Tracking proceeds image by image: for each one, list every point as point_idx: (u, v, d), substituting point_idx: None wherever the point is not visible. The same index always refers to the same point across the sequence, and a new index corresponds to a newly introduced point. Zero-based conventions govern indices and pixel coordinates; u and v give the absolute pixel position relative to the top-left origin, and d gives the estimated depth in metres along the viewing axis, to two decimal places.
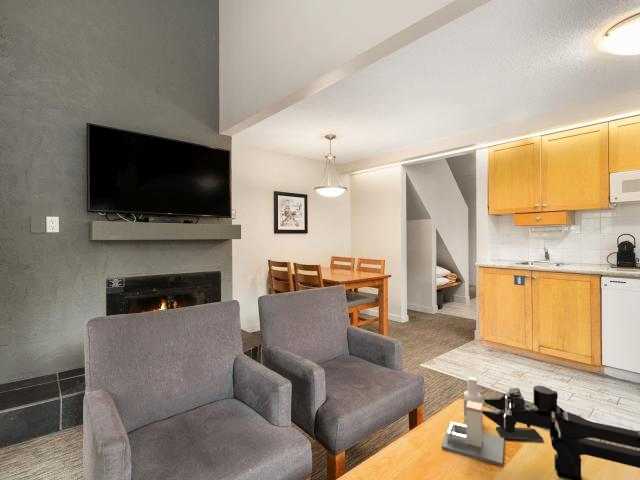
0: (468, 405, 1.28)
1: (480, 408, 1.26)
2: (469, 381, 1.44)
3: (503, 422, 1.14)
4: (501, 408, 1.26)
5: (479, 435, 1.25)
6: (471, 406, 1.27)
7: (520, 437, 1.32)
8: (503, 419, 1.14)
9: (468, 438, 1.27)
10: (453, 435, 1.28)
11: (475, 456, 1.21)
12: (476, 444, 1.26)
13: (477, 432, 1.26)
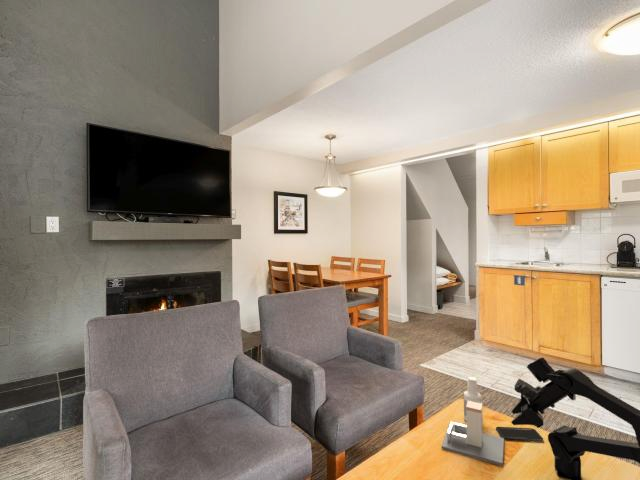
0: (468, 405, 1.28)
1: (480, 408, 1.26)
2: (469, 381, 1.44)
3: (529, 419, 1.13)
4: None
5: (479, 435, 1.25)
6: (471, 406, 1.27)
7: (520, 437, 1.32)
8: (527, 416, 1.13)
9: (468, 438, 1.27)
10: (453, 435, 1.28)
11: (475, 456, 1.21)
12: (476, 444, 1.26)
13: (477, 432, 1.26)
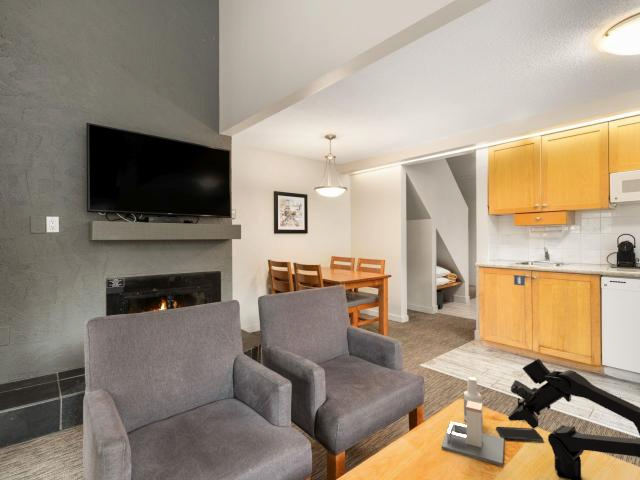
0: (468, 405, 1.28)
1: (480, 408, 1.26)
2: (469, 381, 1.44)
3: None
4: None
5: (479, 435, 1.25)
6: (471, 406, 1.27)
7: (520, 437, 1.32)
8: None
9: (468, 438, 1.27)
10: (453, 435, 1.28)
11: (475, 456, 1.21)
12: (476, 444, 1.26)
13: (477, 432, 1.26)
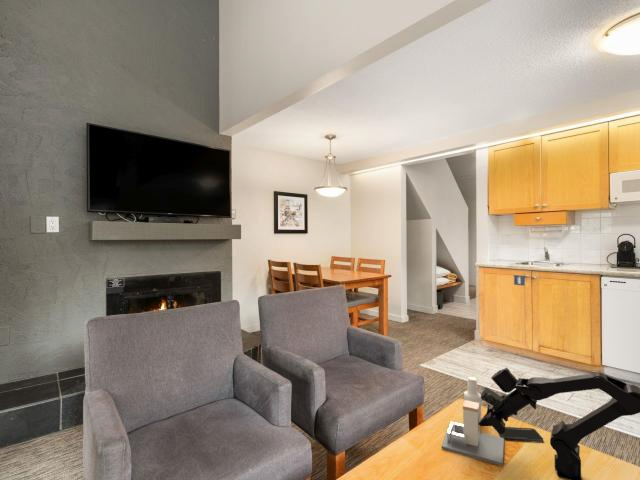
0: (465, 404, 1.29)
1: (477, 407, 1.26)
2: (469, 381, 1.44)
3: None
4: None
5: (476, 434, 1.26)
6: (468, 405, 1.28)
7: (520, 437, 1.32)
8: None
9: None
10: (453, 435, 1.28)
11: (475, 456, 1.21)
12: (473, 443, 1.26)
13: (474, 431, 1.26)
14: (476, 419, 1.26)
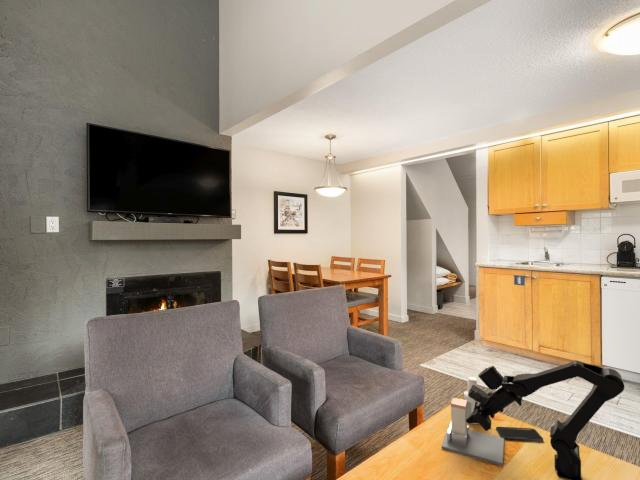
0: (453, 402, 1.31)
1: (464, 405, 1.28)
2: (469, 381, 1.44)
3: None
4: None
5: (463, 431, 1.28)
6: (456, 403, 1.30)
7: (520, 437, 1.32)
8: None
9: None
10: (453, 435, 1.28)
11: (475, 456, 1.21)
12: None
13: (461, 428, 1.28)
14: (464, 416, 1.28)
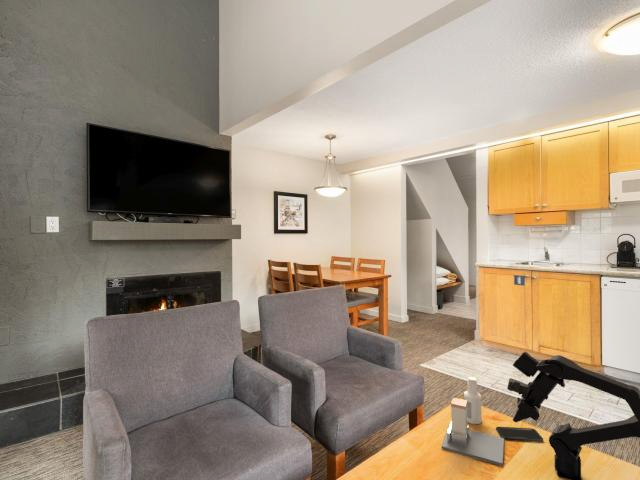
0: (453, 402, 1.31)
1: (464, 405, 1.28)
2: (469, 381, 1.44)
3: None
4: None
5: (463, 431, 1.28)
6: (456, 403, 1.30)
7: (520, 437, 1.32)
8: None
9: None
10: (453, 435, 1.28)
11: (475, 456, 1.21)
12: None
13: (461, 428, 1.28)
14: (464, 416, 1.28)
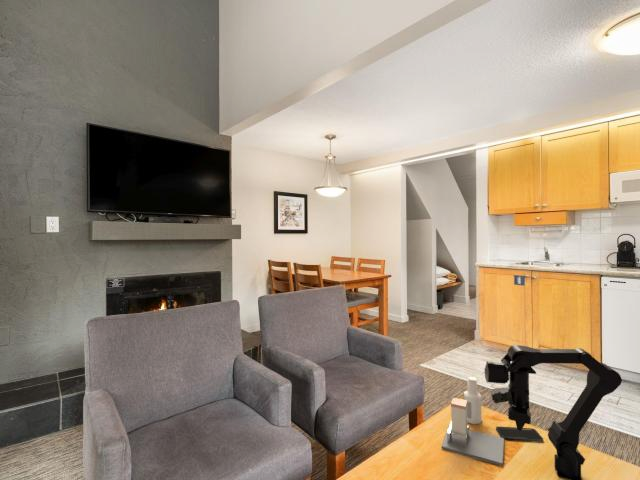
0: (453, 402, 1.31)
1: (464, 405, 1.28)
2: (469, 381, 1.44)
3: None
4: None
5: (463, 431, 1.28)
6: (456, 403, 1.30)
7: (520, 437, 1.32)
8: None
9: None
10: (453, 435, 1.28)
11: (475, 456, 1.21)
12: None
13: (461, 428, 1.28)
14: (464, 416, 1.28)
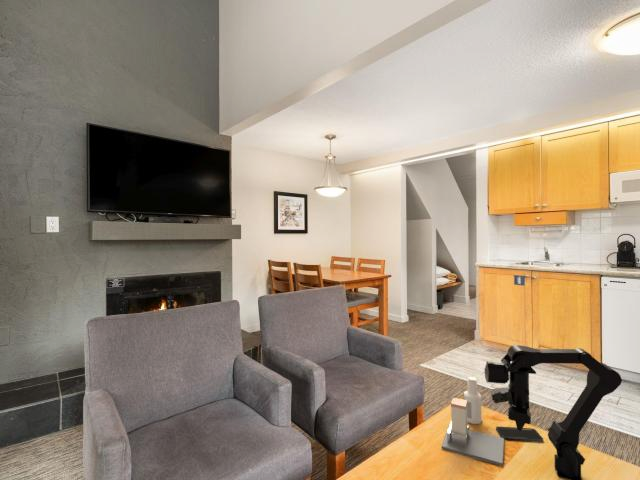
0: (453, 402, 1.31)
1: (464, 405, 1.28)
2: (469, 381, 1.44)
3: None
4: None
5: (463, 431, 1.28)
6: (456, 403, 1.30)
7: (520, 437, 1.32)
8: None
9: None
10: (453, 435, 1.28)
11: (475, 456, 1.21)
12: None
13: (461, 428, 1.28)
14: (464, 416, 1.28)
